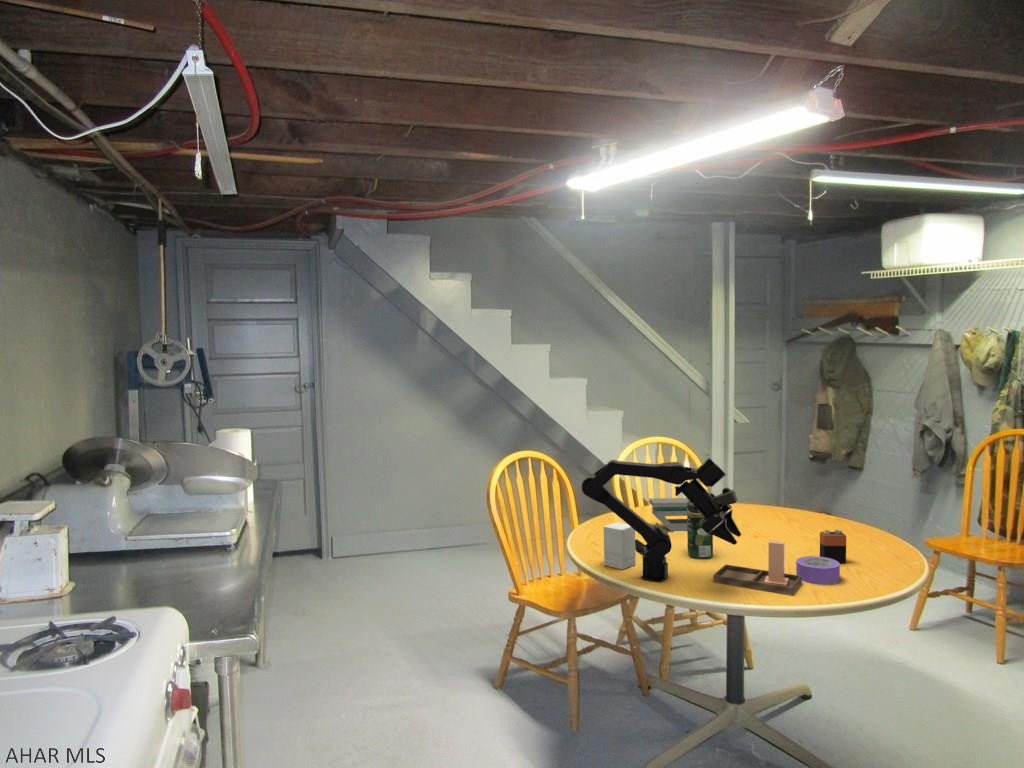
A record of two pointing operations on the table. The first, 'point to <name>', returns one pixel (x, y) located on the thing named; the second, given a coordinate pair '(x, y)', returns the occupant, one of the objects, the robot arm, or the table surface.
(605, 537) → the supplement box
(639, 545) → the electric trimmer
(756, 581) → the divided tray
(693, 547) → the coffee jar
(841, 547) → the battery
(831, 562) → the tape roll
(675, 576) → the table surface
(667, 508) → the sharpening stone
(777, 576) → the pink post on base
